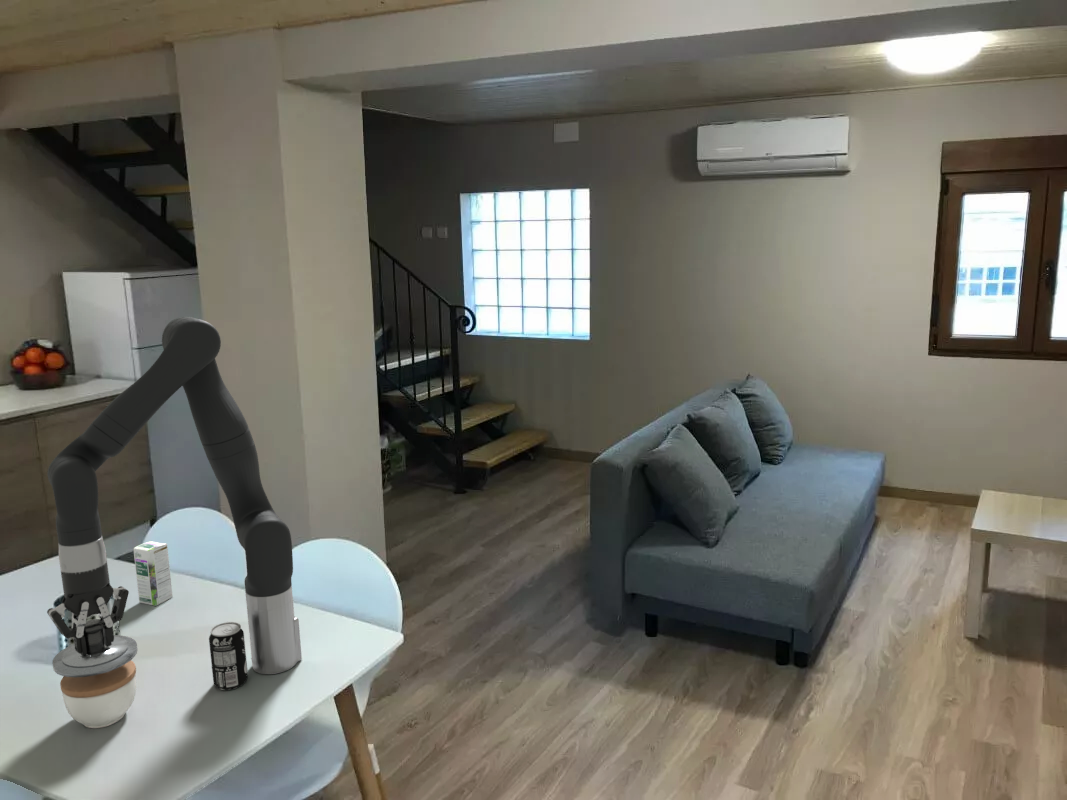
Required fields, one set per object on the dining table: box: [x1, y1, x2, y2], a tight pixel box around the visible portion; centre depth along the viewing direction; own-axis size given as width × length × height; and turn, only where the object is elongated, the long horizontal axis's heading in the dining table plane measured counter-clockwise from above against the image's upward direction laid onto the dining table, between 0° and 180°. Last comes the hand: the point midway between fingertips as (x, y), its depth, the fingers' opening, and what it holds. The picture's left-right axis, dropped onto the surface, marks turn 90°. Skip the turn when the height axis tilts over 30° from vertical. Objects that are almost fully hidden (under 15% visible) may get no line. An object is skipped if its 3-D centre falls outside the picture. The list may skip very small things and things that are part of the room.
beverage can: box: [208, 621, 249, 691], centre depth 167 cm, size 7×7×12 cm
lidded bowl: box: [59, 660, 137, 729], centre depth 156 cm, size 13×13×11 cm
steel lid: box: [52, 618, 138, 677], centre depth 154 cm, size 14×14×7 cm
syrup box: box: [132, 540, 173, 607], centre depth 206 cm, size 6×6×14 cm
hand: (95, 648), depth 155 cm, fingers closed on steel lid, 3 cm apart
